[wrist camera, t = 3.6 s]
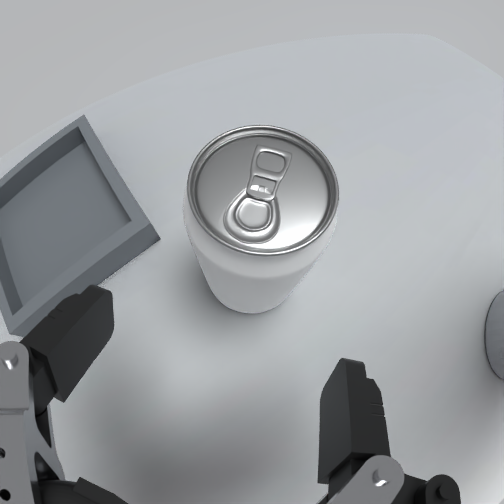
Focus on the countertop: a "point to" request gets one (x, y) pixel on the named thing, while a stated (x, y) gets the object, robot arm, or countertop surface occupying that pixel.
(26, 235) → the tray
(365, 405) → the robot arm
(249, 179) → the can
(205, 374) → the countertop surface
